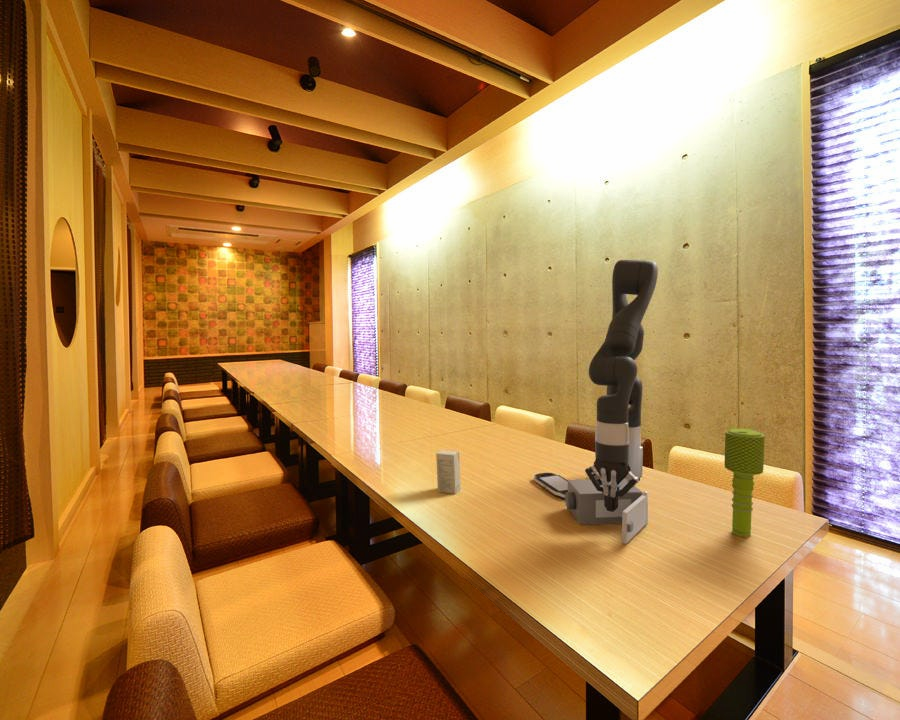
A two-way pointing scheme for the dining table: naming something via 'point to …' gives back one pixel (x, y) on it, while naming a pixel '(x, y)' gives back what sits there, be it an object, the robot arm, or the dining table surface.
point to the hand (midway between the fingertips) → (611, 510)
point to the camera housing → (596, 502)
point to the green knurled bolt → (743, 473)
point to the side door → (635, 517)
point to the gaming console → (553, 483)
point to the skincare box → (448, 471)
